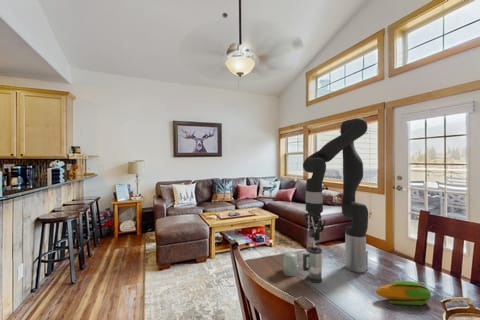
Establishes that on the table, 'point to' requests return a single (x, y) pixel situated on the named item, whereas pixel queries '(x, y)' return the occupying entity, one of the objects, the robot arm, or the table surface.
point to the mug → (290, 263)
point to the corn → (405, 293)
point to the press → (313, 264)
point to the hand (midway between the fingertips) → (314, 238)
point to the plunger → (312, 236)
